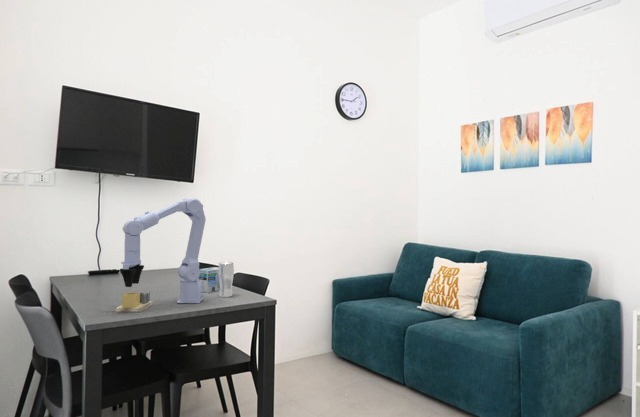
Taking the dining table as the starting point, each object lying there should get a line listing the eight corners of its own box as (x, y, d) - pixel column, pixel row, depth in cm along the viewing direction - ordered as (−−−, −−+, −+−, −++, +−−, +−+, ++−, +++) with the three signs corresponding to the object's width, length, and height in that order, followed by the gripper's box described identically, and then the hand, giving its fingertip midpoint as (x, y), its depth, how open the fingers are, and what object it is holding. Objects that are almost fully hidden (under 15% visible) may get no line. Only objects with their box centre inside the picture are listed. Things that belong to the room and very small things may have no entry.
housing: (149, 300, 181) (149, 292, 181) (145, 303, 176) (145, 294, 176) (127, 300, 181) (127, 292, 181) (122, 303, 176) (122, 294, 176)
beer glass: (229, 297, 196) (230, 264, 196) (215, 296, 198) (215, 263, 198) (235, 294, 203) (236, 262, 203) (221, 294, 204) (222, 262, 204)
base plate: (152, 304, 182) (152, 295, 182) (141, 311, 169) (141, 301, 169) (127, 304, 181) (128, 295, 181) (115, 311, 168) (115, 301, 168)
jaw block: (139, 304, 174) (140, 292, 174) (135, 307, 169) (135, 294, 169) (127, 304, 174) (127, 292, 174) (122, 307, 169) (122, 294, 169)
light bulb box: (207, 293, 206) (207, 270, 206) (197, 291, 210) (198, 269, 210) (224, 289, 215) (224, 267, 215) (214, 288, 219) (214, 266, 219)
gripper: (128, 249, 180) (128, 282, 180) (114, 252, 165) (114, 288, 165) (146, 249, 180) (146, 282, 180) (133, 252, 166) (133, 288, 166)
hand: (132, 285), depth 173 cm, fingers open, 7 cm apart
